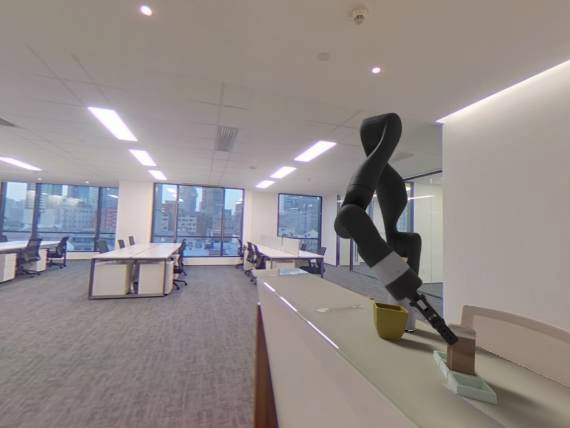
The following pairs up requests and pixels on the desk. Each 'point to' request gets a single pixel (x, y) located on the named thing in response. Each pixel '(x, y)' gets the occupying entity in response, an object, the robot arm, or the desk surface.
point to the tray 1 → (440, 356)
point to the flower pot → (390, 320)
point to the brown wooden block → (462, 350)
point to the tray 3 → (472, 388)
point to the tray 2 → (446, 370)
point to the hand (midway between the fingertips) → (448, 336)
